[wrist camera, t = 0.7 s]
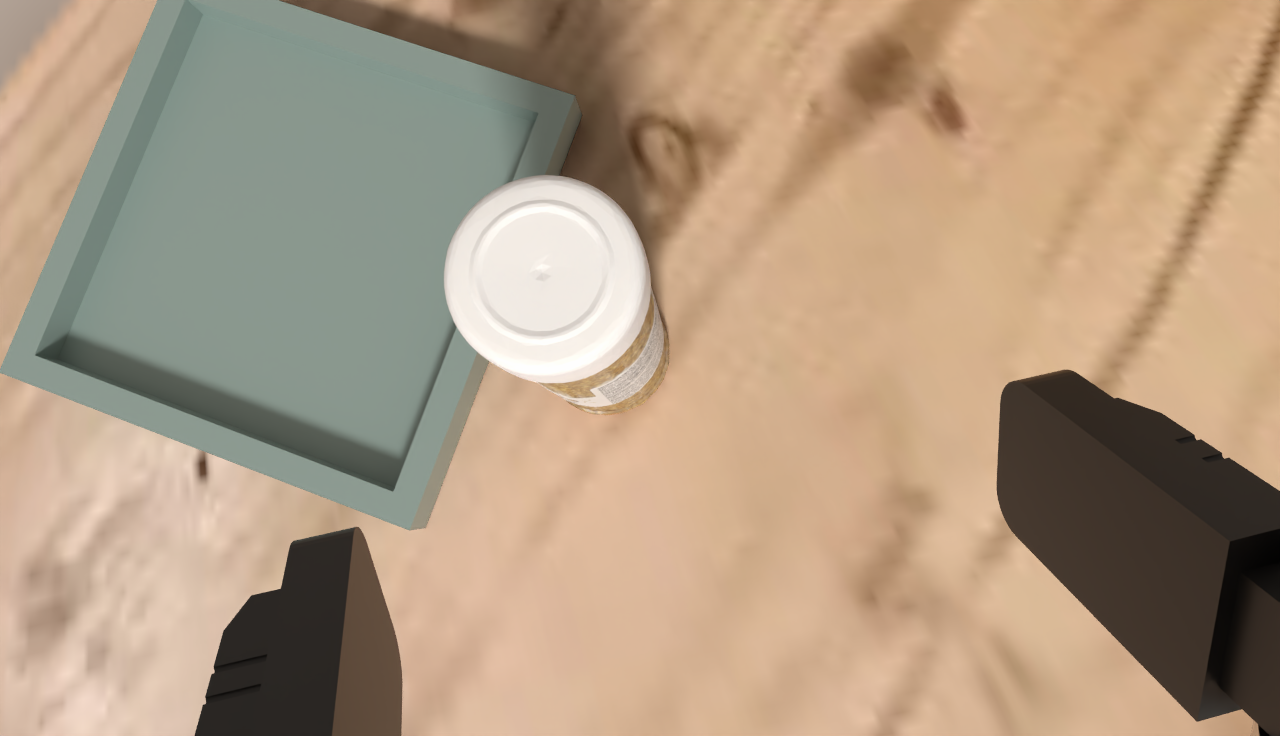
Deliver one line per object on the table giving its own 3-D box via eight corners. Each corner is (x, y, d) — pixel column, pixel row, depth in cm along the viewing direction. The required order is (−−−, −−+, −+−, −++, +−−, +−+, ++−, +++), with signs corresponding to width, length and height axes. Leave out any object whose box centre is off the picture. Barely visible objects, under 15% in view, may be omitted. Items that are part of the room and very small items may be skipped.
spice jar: (519, 351, 34) (396, 267, 21) (612, 265, 34) (547, 126, 21) (605, 444, 34) (533, 418, 20) (699, 356, 34) (689, 273, 20)
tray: (198, -9, 37) (172, -34, 35) (582, 115, 35) (575, 95, 33) (34, 377, 36) (-1, 372, 34) (425, 527, 34) (409, 530, 32)
